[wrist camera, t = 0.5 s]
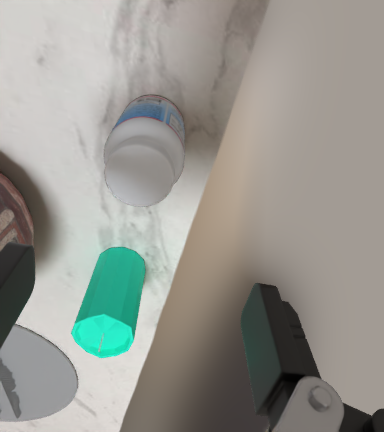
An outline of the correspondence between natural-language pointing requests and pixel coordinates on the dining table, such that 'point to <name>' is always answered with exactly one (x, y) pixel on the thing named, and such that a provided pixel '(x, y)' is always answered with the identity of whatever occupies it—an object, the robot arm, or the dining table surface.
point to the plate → (33, 377)
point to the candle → (111, 304)
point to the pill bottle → (145, 151)
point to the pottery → (14, 216)
